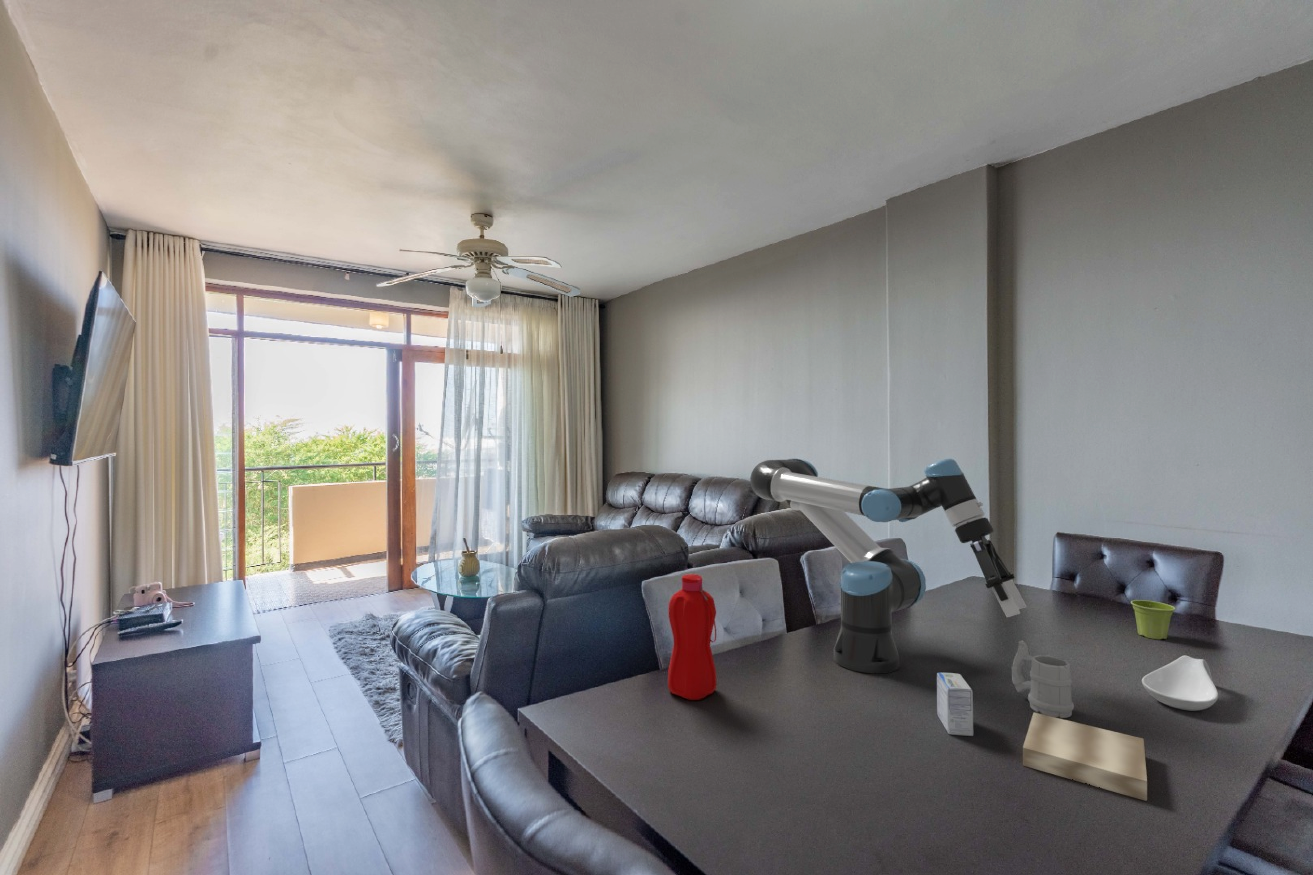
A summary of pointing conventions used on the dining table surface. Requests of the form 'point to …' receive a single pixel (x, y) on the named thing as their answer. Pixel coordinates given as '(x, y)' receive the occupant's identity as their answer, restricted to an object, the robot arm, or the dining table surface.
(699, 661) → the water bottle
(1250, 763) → the dining table surface
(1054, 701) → the mug
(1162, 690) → the spoon rest
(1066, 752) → the birch stand
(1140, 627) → the plant pot
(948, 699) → the medicine box
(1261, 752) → the dining table surface
